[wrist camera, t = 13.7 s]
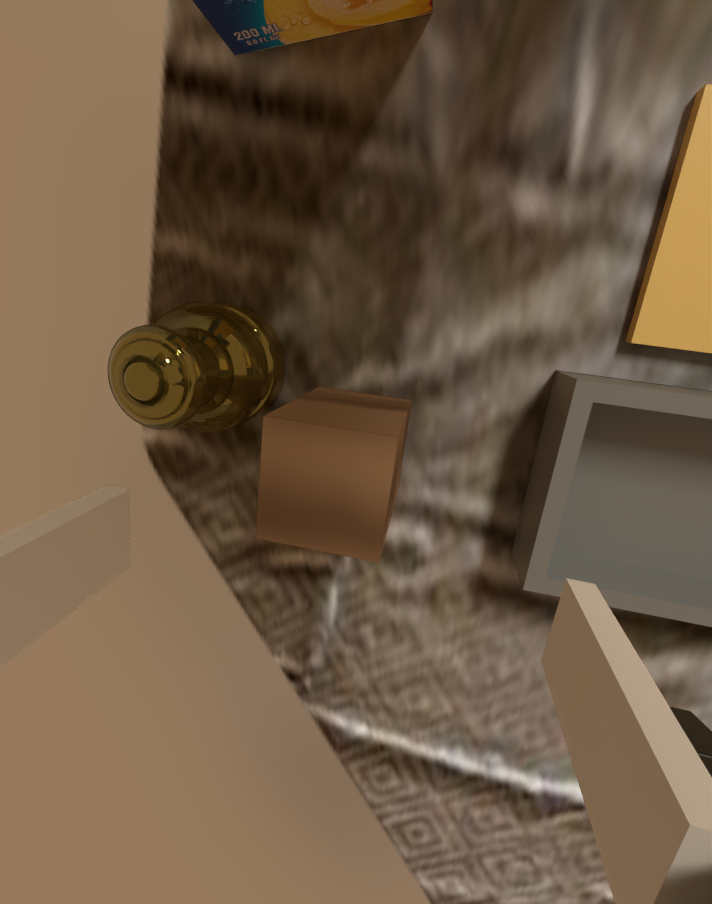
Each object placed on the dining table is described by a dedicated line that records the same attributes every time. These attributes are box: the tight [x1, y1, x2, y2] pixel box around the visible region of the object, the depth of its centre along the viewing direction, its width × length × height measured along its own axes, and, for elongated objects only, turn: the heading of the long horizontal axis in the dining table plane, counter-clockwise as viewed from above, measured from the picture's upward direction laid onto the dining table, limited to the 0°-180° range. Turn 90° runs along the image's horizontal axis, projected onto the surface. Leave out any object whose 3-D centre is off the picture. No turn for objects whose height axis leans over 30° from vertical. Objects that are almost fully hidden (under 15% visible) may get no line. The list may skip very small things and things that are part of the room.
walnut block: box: [255, 386, 412, 563], centre depth 26 cm, size 6×6×10 cm
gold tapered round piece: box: [108, 301, 285, 432], centre depth 26 cm, size 7×8×10 cm
